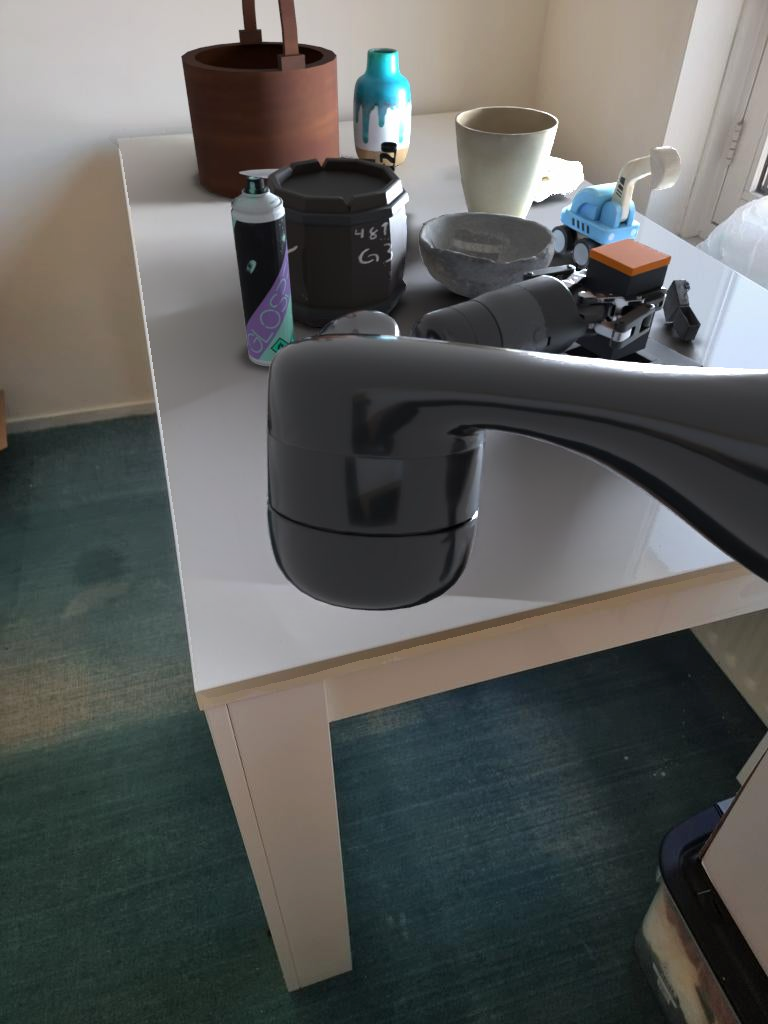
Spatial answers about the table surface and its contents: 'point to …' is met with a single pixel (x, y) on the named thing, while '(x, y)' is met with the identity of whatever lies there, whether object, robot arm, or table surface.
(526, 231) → the bowl
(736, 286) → the table surface
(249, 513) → the table surface
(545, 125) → the plant pot
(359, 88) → the vase
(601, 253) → the black and orange block
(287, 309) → the spray can
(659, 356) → the dark square socket base
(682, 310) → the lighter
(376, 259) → the barrel
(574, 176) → the stone
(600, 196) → the toy excavator
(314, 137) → the bucket
